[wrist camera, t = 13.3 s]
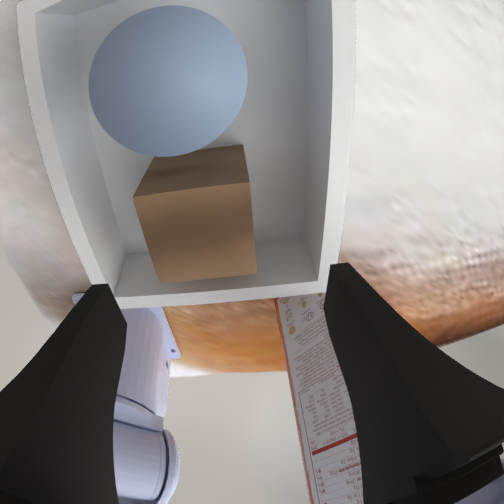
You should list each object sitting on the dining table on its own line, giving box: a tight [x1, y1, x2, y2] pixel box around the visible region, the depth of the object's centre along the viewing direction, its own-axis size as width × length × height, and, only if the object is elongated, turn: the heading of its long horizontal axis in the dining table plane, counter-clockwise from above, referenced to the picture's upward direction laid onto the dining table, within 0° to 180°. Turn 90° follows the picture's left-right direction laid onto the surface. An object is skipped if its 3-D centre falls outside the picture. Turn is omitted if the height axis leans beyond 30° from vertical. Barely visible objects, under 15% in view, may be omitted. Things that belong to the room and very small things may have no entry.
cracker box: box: [274, 292, 364, 504], centre depth 19 cm, size 14×6×21 cm, turn 48°
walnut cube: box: [132, 145, 257, 283], centre depth 16 cm, size 5×5×5 cm
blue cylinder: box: [88, 5, 248, 157], centre depth 11 cm, size 5×5×7 cm
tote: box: [16, 0, 356, 309], centre depth 14 cm, size 18×14×5 cm
